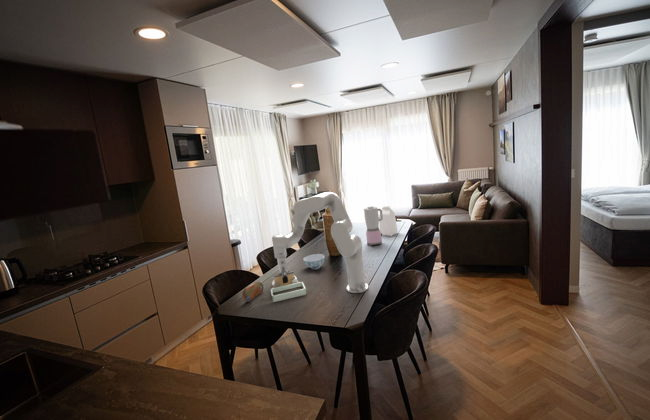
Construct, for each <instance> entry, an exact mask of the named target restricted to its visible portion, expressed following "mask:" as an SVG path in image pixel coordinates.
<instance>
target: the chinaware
mask: <svg viewBox="0 0 650 420" xmlns="http://www.w3.org/2000/svg"><path fill="white" fill-rule="evenodd" d="M303 262H304V264H305V265H306V267H308V268H310V269H312V270H313V271H314V270H319V269H320V268H321V267H322V265H324V262H325V255H324V254H321V253H317V254H316V253H315V254H314V253H313V254H310V255H307V256H305V257H303Z"/></svg>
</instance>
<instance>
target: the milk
mask: <svg viewBox="0 0 650 420" xmlns="http://www.w3.org/2000/svg"><path fill="white" fill-rule="evenodd" d="M381 210H382V217H383V219H382V220H381V221H379V230H380V232H381V233H382V236H385V235H387V236H389V237H392V235H393V236H394V235H396V234H398V227H397V218H396V213H395V212H394V211H393V210H392V209H391V207H390V205H383V206H382V209H381ZM378 215H379V219H380V218H381V217H380V213H378Z"/></svg>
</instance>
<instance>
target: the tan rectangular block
mask: <svg viewBox="0 0 650 420" xmlns="http://www.w3.org/2000/svg"><path fill="white" fill-rule="evenodd" d="M286 273H287V277H288V283H283V279H282V277H283V276H282V274H281V272H278V273H274V274H273V277H274V280H275V283H278V282H279V286H280V285H285V284H289V283H292V280H291V279H294V276H295V273H294V270H293V269H292V270H288V272H286Z"/></svg>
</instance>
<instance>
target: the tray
mask: <svg viewBox="0 0 650 420" xmlns="http://www.w3.org/2000/svg"><path fill="white" fill-rule="evenodd" d="M299 287H301V288H302V289H301V288H300V289H297V288H299ZM291 289H297V290H293V291H289V292H283V293H279V292H282V291H287V290H291ZM274 293H279V294H275V295H274ZM270 294H271V299H272V302H273V303H276V302H280V301H285V300H288V299H293V298H296V297H301V296H302V297H303V296H306V295H308V294H307V288H306V286H305V284H304V281H298V283H294V284H290V285H285V286H281V287H276V288H273V287H272V288H270Z"/></svg>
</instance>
